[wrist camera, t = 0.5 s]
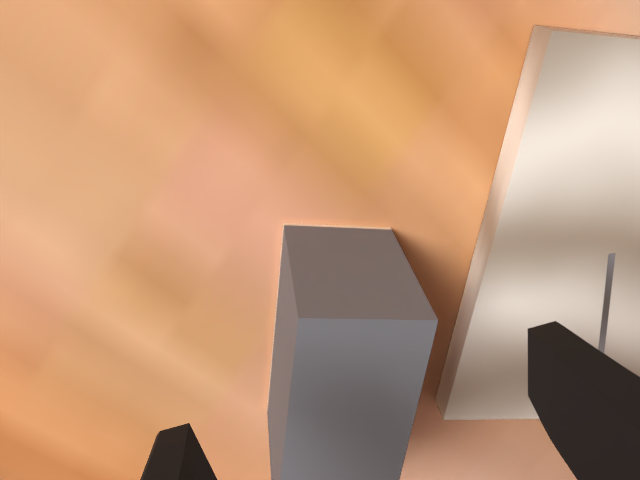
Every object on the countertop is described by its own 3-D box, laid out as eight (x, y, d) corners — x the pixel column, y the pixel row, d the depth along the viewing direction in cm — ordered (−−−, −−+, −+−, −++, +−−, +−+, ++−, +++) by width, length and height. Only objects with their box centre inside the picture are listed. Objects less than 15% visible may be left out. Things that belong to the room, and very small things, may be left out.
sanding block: (356, 406, 26) (387, 528, 20) (267, 407, 25) (274, 533, 20) (389, 226, 22) (438, 320, 16) (283, 221, 21) (298, 318, 16)
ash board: (690, 398, 28) (709, 417, 27) (434, 400, 26) (443, 420, 25) (870, 60, 21) (906, 67, 19) (533, 25, 18) (552, 30, 17)
